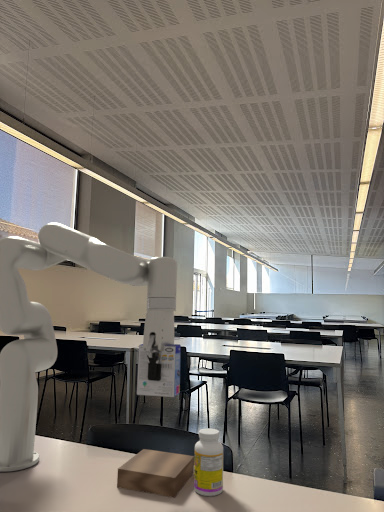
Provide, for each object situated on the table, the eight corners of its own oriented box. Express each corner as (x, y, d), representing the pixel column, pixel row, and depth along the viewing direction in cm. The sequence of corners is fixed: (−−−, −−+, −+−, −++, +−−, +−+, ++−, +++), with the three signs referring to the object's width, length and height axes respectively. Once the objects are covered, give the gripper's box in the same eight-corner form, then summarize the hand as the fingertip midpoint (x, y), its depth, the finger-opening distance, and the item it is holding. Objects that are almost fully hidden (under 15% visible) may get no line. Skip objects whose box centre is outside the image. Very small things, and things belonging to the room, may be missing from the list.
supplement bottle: (196, 482, 92) (197, 425, 94) (224, 485, 90) (225, 428, 92) (191, 495, 85) (192, 434, 87) (220, 499, 84) (221, 436, 86)
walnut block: (116, 487, 88) (117, 468, 89) (143, 465, 101) (143, 448, 102) (174, 497, 84) (174, 477, 85) (193, 473, 97) (194, 456, 98)
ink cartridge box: (180, 393, 97) (181, 334, 99) (175, 398, 92) (176, 336, 94) (143, 391, 99) (145, 333, 101) (136, 395, 94) (138, 335, 96)
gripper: (160, 306, 108) (158, 372, 106) (133, 304, 92) (130, 382, 89) (185, 306, 106) (184, 374, 103) (162, 304, 90) (160, 385, 87)
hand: (159, 377), depth 96 cm, fingers closed on ink cartridge box, 5 cm apart
